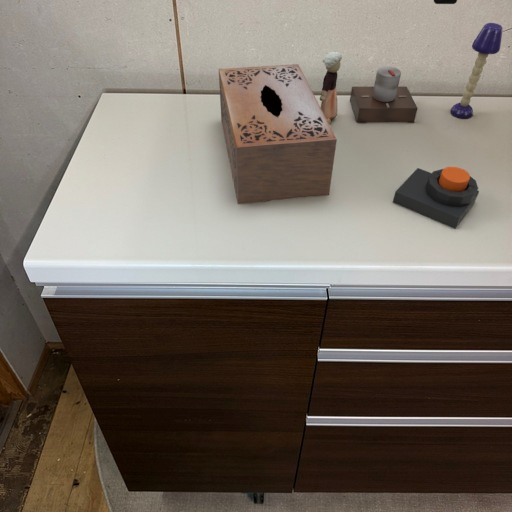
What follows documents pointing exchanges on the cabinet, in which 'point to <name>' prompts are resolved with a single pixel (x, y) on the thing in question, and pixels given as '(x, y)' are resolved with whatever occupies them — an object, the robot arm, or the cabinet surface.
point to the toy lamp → (478, 65)
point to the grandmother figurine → (330, 85)
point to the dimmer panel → (382, 106)
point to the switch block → (435, 197)
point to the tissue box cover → (275, 134)
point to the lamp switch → (454, 179)
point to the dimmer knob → (386, 84)
